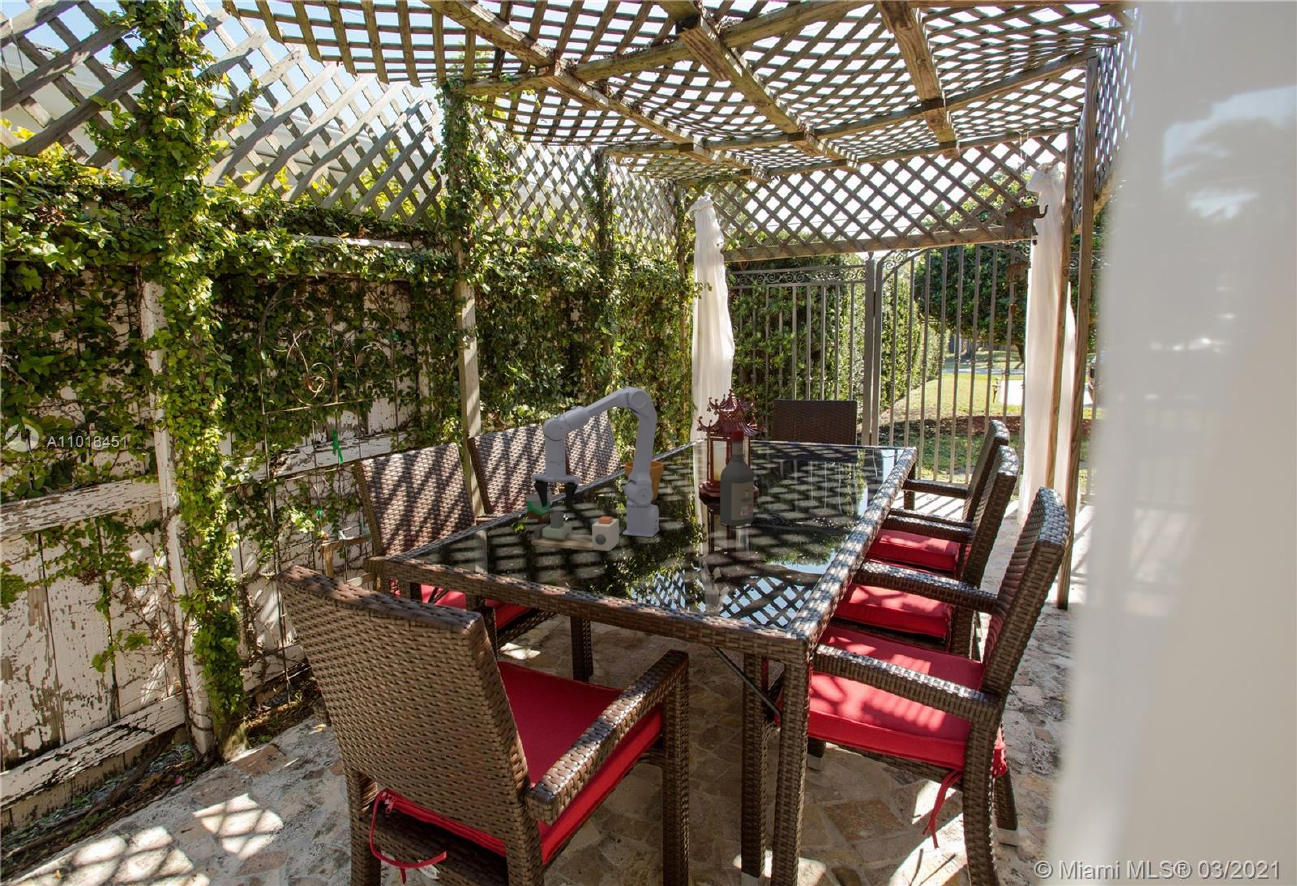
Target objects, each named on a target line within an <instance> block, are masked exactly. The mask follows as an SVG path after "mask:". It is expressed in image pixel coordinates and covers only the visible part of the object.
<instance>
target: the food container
mask: <svg viewBox="0 0 1297 886" xmlns="http://www.w3.org/2000/svg"><path fill="white" fill-rule="evenodd" d="M552 497H553V494H552V490H551V488H549V487H548V489H547V506H545V507H542V504H541V500H540V497H539V495H538V493H537V491H536V490H535V491H533V492H532V493H531V494H530V493H529V494H527V493H526V495H525V502H526V511H527V524H528V523H541V524H545V523H548V522H549V521H550V511H551V510H550V509H551V508H550V506H551V498H552ZM548 520H549V521H548ZM547 521H548V522H547ZM544 522H545V523H544Z"/></svg>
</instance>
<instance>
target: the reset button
mask: <svg viewBox="0 0 1297 886" xmlns="http://www.w3.org/2000/svg"><path fill="white" fill-rule="evenodd" d="M612 519H613V517H612V516H604V515H603V516H601V517H599V518H598V521H599V524H611V523H612Z"/></svg>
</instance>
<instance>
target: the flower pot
mask: <svg viewBox="0 0 1297 886" xmlns="http://www.w3.org/2000/svg"><path fill="white" fill-rule="evenodd" d="M633 462H634V460H633V461H628V462H626V463H624V475H625V476H626V477H627V480H628V479H629V475H630V473H631V472H632V469H633ZM664 465H665V464H664V463H663V462H661V461H656V460H651V466H650V473H649V474H650V478H651V481H652V486H651V487H652V491H653V498H652V501H655V500H656V499H657V498H658V493H659V488H660V484H661V479H662V476H663V475H664V472H665V471H664V470H665V469H664Z"/></svg>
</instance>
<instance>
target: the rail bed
mask: <svg viewBox="0 0 1297 886" xmlns="http://www.w3.org/2000/svg"><path fill="white" fill-rule="evenodd" d="M547 526H548V524H547V523H541V524H539V526H537V527H536V528H534V529H533V540H531V541H530V544H532V545H531V546H537V545H539V546H540V547H547V548H549V547H550V548H558V549H559V548H560V549H569V548H571V550H582V551H593V543H592V535H588V534H587V535H586V534H575V533H570V534H566V535H565V539H555V538H545V536H543V529H544V528H545V527H547ZM539 546H538V547H539Z"/></svg>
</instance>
